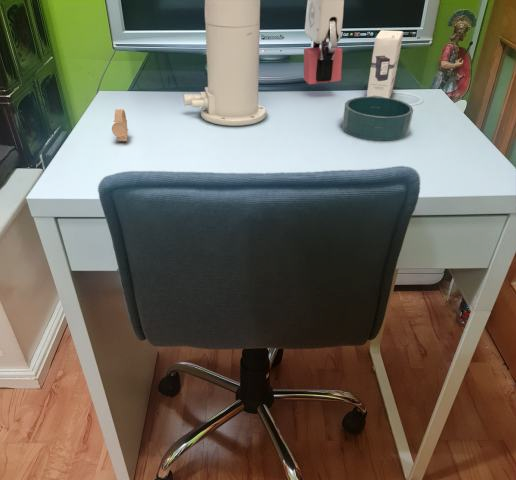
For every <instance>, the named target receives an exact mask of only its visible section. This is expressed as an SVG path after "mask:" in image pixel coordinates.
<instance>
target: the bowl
mask: <svg viewBox="0 0 516 480" xmlns="http://www.w3.org/2000/svg"><path fill="white" fill-rule="evenodd" d="M343 110H344V111H343V116H342V127H341V128H342V130H343V131H344V132H345V133H347V134H348V135H350V136H352V137H356V138H358V139H363V140H367V141H376V142H377V141H378V142H389V141H396V140H400V139H403V138H405V137H407V135H409V130H410V128H411V123H412V118H413V114H414V108H413V106H411V105H410V104H409V103H407V102H405V101H402V100H401V99H396V98H392V97H390V98H385V97H373V96H368V97H367V96H359V97H354V98H350V99H348V100H347V101H346V102H345V103H344V109H343Z"/></svg>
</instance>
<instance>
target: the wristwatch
mask: <svg viewBox="0 0 516 480" xmlns="http://www.w3.org/2000/svg"><path fill="white" fill-rule="evenodd" d="M113 122H114V123H113V124H112V126H111V133H112V134H113V135H114V136H115V137H116V140H117V141H118V142H127V141H128V135H129V132H128V131H129V128H128V120H127V115H126V111H125V109H123V108H122V109H118V108H116V109H115V110H114V120H113Z"/></svg>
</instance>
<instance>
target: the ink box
mask: <svg viewBox="0 0 516 480" xmlns="http://www.w3.org/2000/svg"><path fill="white" fill-rule="evenodd" d="M403 37H404V31H402V30H386V29H384V30H383V29H381V30H379V32H378V33H377V35H375V37H374V42H373V49H372V56H371V61H370V62H371V63H370V70H369V76H368V84H367V91H366V97H368V96H373V97H385V98H391V96H392V94H393V91H394V86H395V81H396V75H397V70H398V64H399V59H400V54H401V49H402V43H403Z"/></svg>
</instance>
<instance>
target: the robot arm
mask: <svg viewBox="0 0 516 480" xmlns="http://www.w3.org/2000/svg"><path fill="white" fill-rule="evenodd" d="M306 1H307V2H306V3H307V4H306V13H305V21H304V22H305V23H304V33H305V35H306V36H307V37H308V38H309V39H310V41H311V44H310V48H316V47H320V51H319V59H317V72H316V80H317V81H318V82H320V81H331V78H332V68H333V60H334V52H335V50H336V49H337V46H338V43H339V41H340V40H341V38H342V31H343V20H344V10H345V9H344V8H345V7H344V6H345V0H306ZM204 23H205V46H206V50H205V51H206V72H207V86H205V87H204V91H200V92H199V93H197V94H196V93H195V94H194V93H184V94H183V103H184V106H191V108H200V116H201V118H202V119H203V120H205V121H206V122H208V123H211V124H215V125H220V126H230V127H238V126H239V127H240V126H249V125H254V124H257V123H260V122H262V121H263V120H264V119H266V117H267V109H266V108H265V106H263V105H262V104H260V103H259V85H260V84H259V78H260V77H259V76H260V36H261V35H260V32H261V31H260V30H261V29H260V28H261V0H204ZM327 39H328V41H327ZM325 46H328V47H325ZM324 47H325V49H324Z"/></svg>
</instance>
